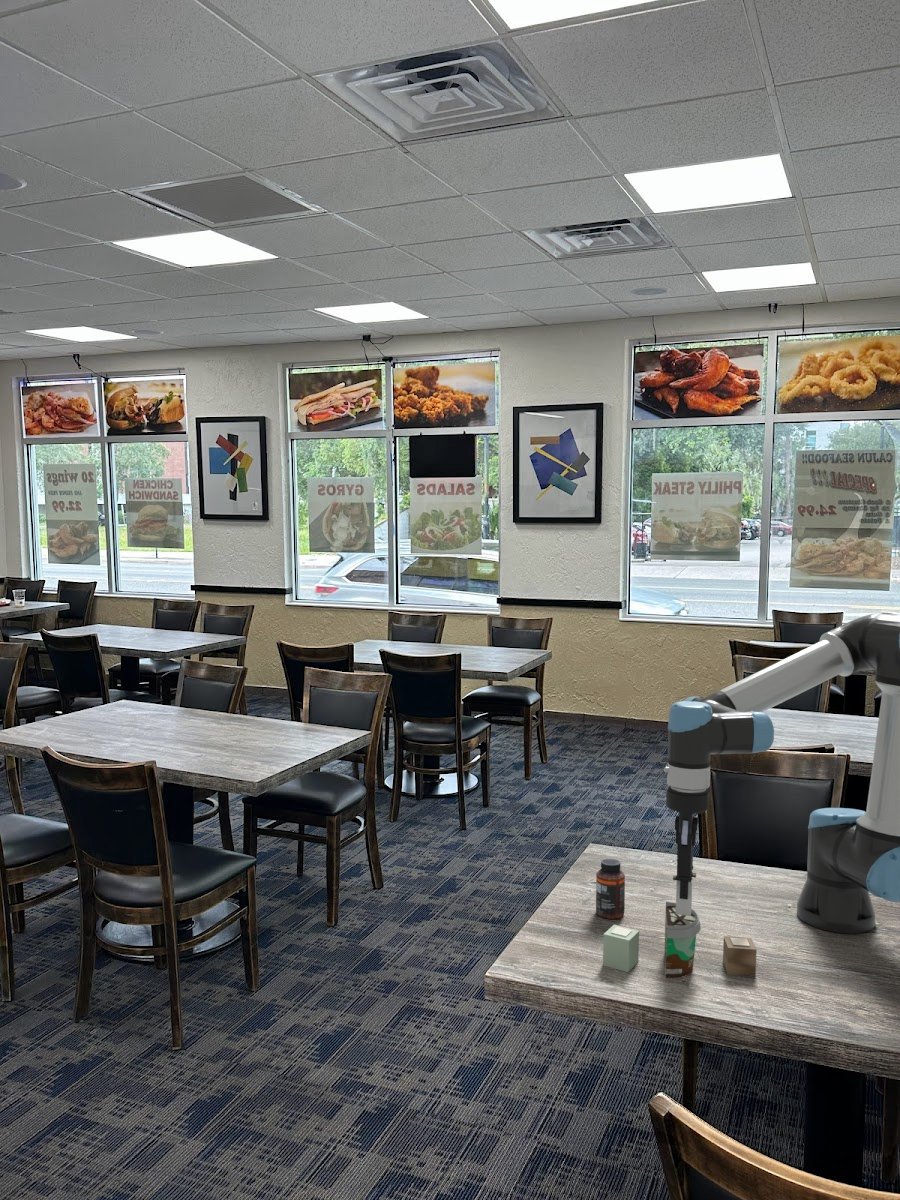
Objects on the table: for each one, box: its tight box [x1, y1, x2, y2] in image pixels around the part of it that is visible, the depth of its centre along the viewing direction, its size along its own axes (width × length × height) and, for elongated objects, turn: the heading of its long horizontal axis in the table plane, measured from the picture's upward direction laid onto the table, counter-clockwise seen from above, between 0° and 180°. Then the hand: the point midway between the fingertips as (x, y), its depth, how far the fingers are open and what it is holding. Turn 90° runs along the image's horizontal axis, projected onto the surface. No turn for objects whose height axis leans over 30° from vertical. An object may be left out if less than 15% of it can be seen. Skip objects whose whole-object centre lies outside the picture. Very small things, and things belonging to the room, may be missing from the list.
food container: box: [664, 901, 702, 979], centre depth 173 cm, size 12×6×10 cm, turn 168°
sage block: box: [602, 924, 640, 973], centre depth 175 cm, size 5×5×6 cm
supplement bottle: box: [595, 858, 626, 920], centre depth 197 cm, size 6×6×11 cm
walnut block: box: [722, 935, 757, 977], centre depth 174 cm, size 5×5×5 cm
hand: (683, 913), depth 173 cm, fingers closed
